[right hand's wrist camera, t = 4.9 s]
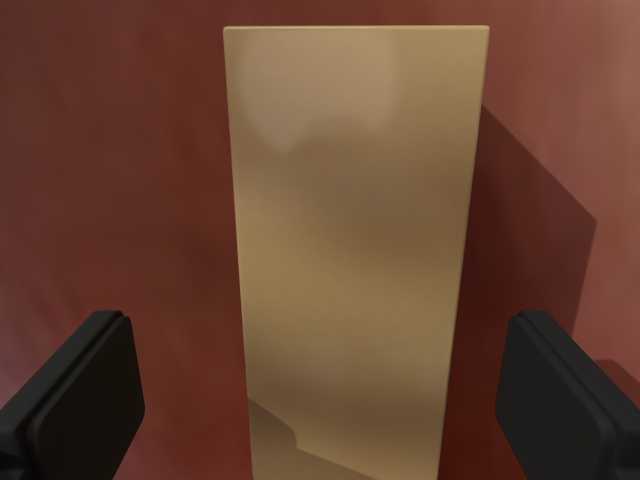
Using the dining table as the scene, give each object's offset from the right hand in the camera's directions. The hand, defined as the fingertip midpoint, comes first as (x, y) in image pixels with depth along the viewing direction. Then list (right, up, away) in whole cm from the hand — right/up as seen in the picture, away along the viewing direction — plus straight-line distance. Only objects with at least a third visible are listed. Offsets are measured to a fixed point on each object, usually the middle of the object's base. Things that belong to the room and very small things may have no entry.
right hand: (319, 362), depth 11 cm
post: (+1, -18, +13) cm, 22 cm away
